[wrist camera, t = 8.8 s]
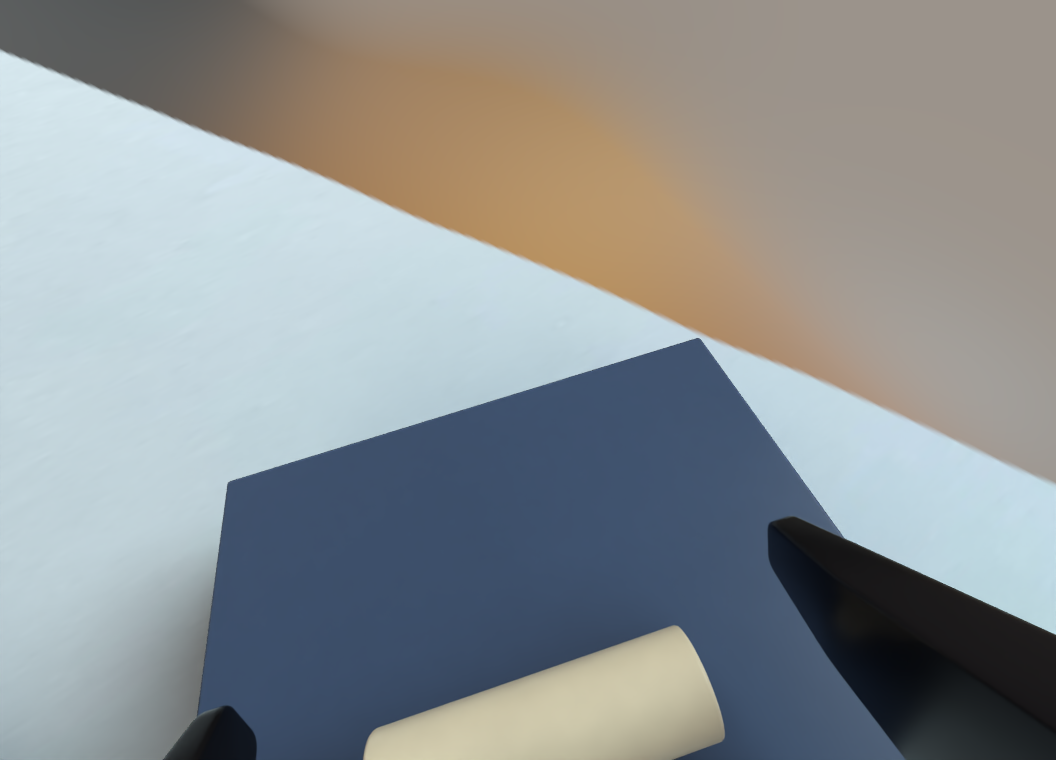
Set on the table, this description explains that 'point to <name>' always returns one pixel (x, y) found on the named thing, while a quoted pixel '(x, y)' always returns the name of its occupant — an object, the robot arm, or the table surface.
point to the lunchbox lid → (533, 586)
